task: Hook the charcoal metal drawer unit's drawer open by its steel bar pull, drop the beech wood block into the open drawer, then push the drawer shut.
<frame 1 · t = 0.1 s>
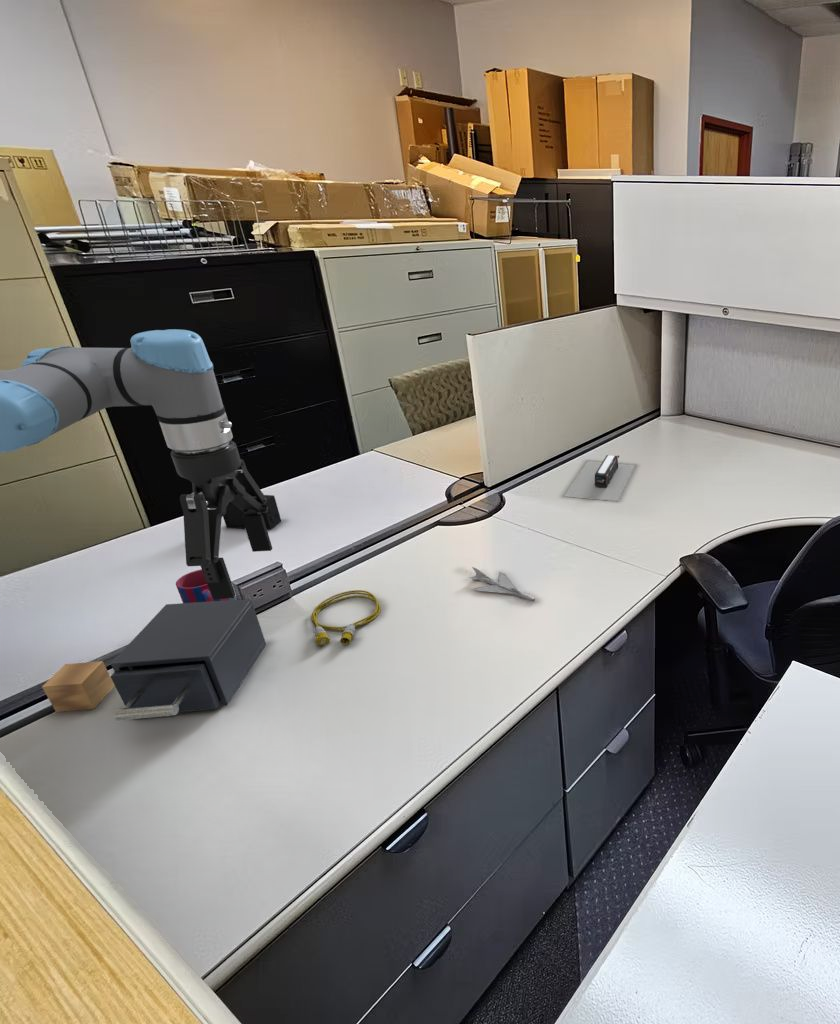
hand: (244, 572, 96), 17 cm above the table, tool pointing down, fingers open, 13 cm apart
mug: (211, 613, 115), on the table
cabinet: (205, 676, 100), on the table
bus: (601, 480, 175), on the table
block: (86, 698, 95), on the table
drawer: (180, 673, 94), point 5 cm above the table, slide at 0.5 cm
digital camera: (256, 524, 145), on the table
extension cord: (342, 620, 115), on the table
toy airplane: (496, 586, 126), on the table
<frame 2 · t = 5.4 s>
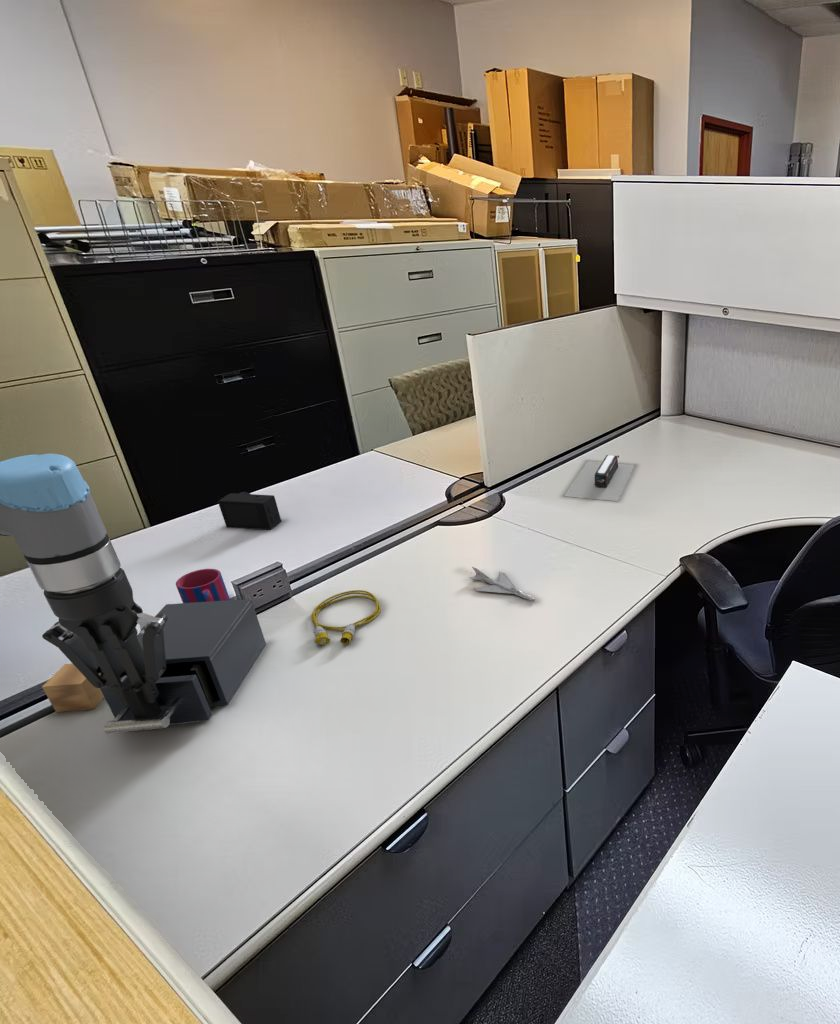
hand: (150, 718, 87), 4 cm above the table, tool pointing down, fingers closed
drawer: (171, 684, 92), point 5 cm above the table, slide at 2.8 cm, touching gripper
everything else where it was.
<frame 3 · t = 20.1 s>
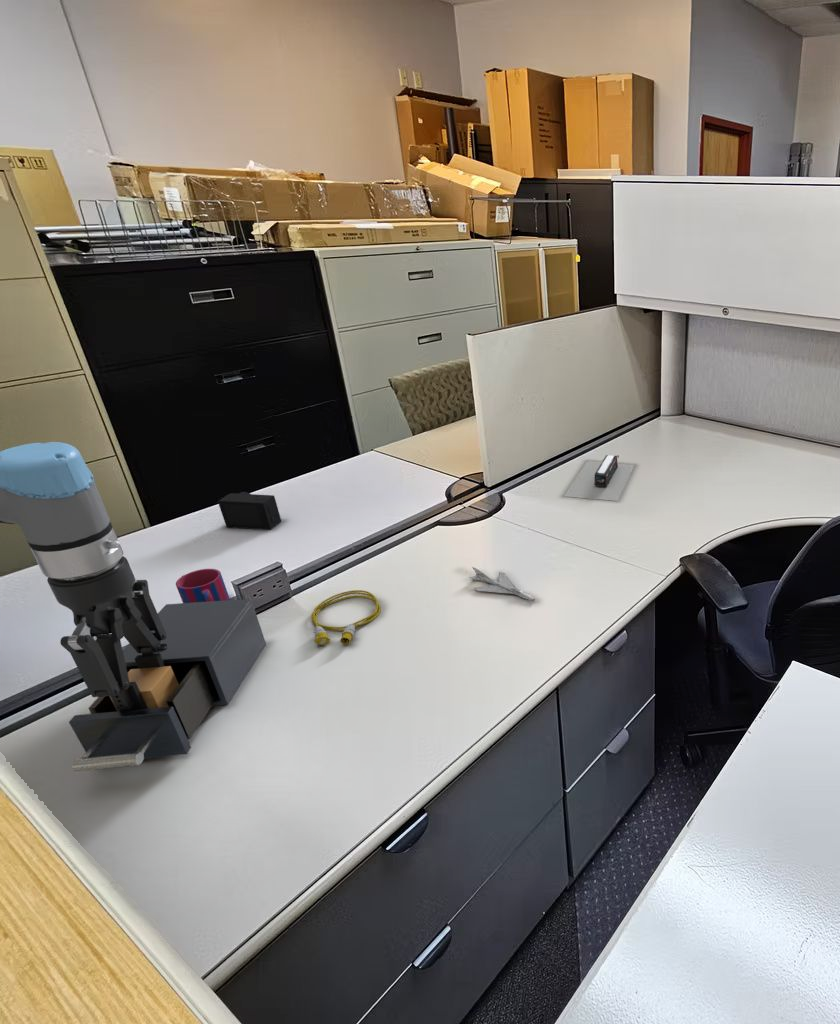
hand: (151, 705, 87), 5 cm above the table, tool pointing down, fingers closed on block, 5 cm apart
block: (153, 706, 87), point 5 cm above the table, touching gripper
drawer: (147, 715, 86), point 5 cm above the table, slide at 9.1 cm
everything else where it was.
when the fingers open (8 cm above the table, at t = 31.9 s): block drops 6 cm, resting on drawer.
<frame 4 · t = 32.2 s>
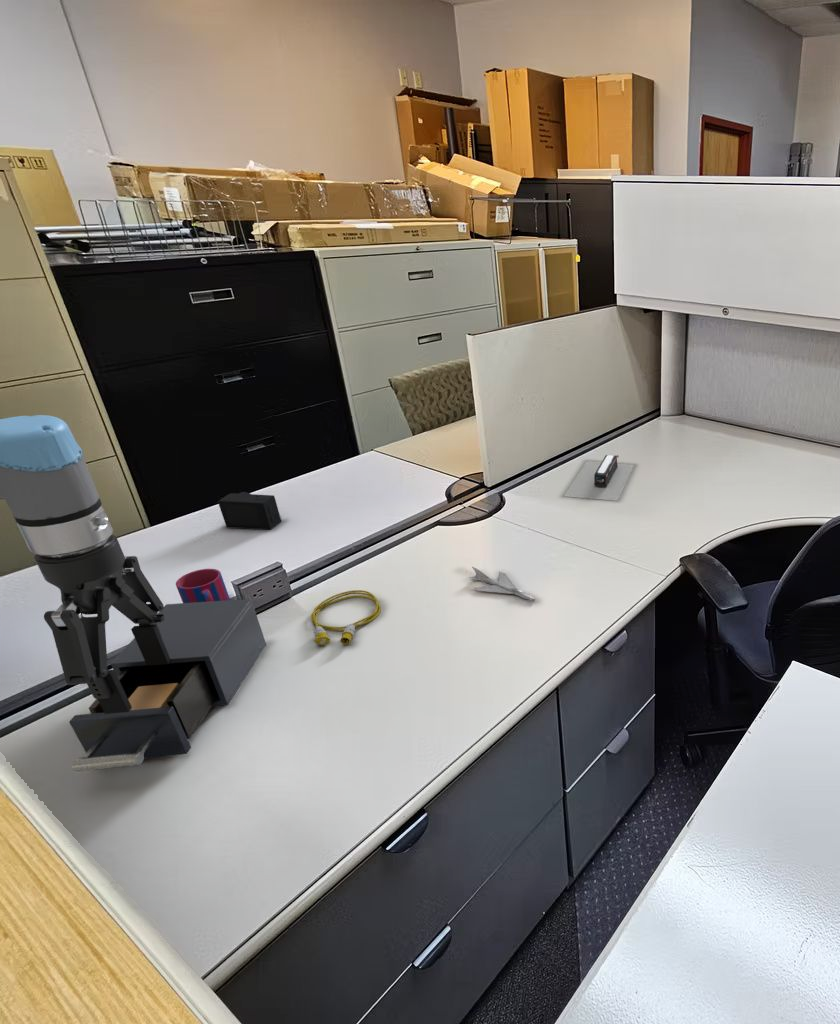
hand: (139, 685, 85), 9 cm above the table, tool pointing down, fingers open, 9 cm apart
block: (160, 723, 89), point 2 cm above the table, touching drawer
drawer: (147, 715, 86), point 5 cm above the table, slide at 9.1 cm, touching block
everything else where it was.
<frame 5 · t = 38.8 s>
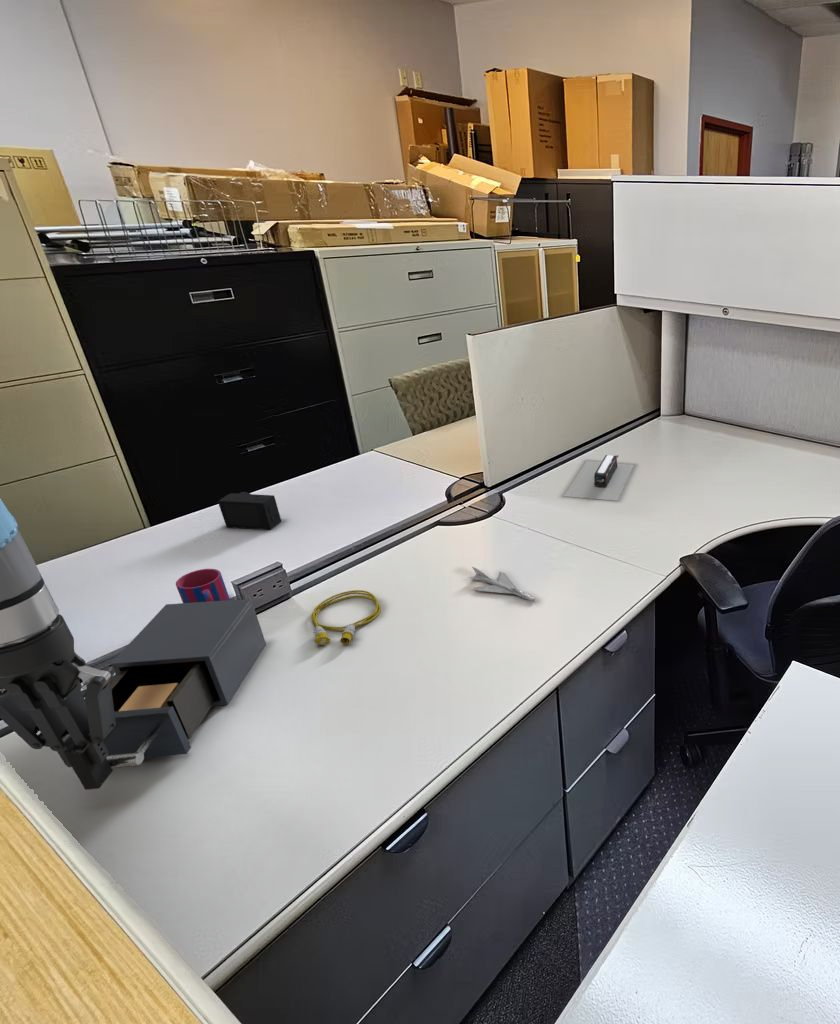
hand: (99, 779, 77), 5 cm above the table, tool pointing down, fingers closed
drawer: (148, 715, 86), point 5 cm above the table, slide at 9.1 cm, touching block, gripper
everything else where it was.
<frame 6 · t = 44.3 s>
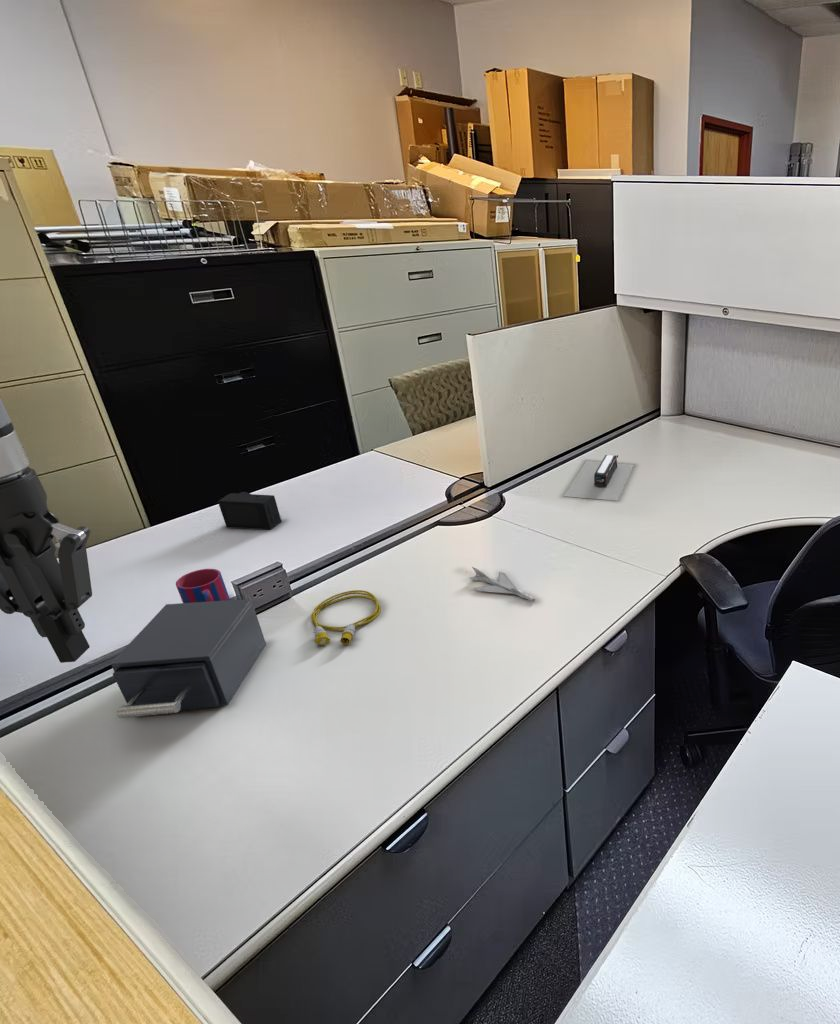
hand: (75, 654, 74), 20 cm above the table, tool pointing down, fingers closed
block: (192, 679, 96), point 2 cm above the table, touching drawer
drawer: (182, 671, 94), point 5 cm above the table, slide at 0.0 cm, touching block, cabinet
everything else where it was.
at the end: drawer pulled out 9.1 cm at the most during the clip, back to where it started at the end; block inside the target area in the drawer (2.5 cm from its centre), point 2.0 cm above the cabinet's base; drawer slide at 0.0 cm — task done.
